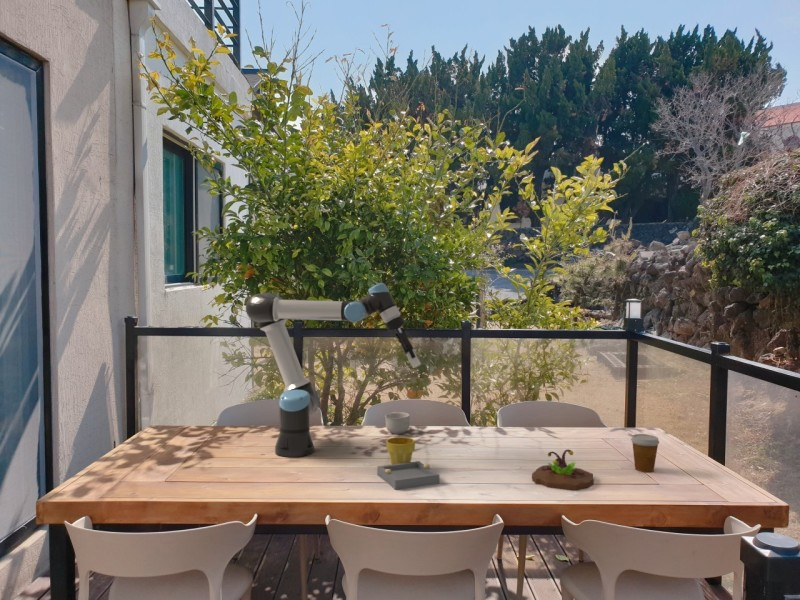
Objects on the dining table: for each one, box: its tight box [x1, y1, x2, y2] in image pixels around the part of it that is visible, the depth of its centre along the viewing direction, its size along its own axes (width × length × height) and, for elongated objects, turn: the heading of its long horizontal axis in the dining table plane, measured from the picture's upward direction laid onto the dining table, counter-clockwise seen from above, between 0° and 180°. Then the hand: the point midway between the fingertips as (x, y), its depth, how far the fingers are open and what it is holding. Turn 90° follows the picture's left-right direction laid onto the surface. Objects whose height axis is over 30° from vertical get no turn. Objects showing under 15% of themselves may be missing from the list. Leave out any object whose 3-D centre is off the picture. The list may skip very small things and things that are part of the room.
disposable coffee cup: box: [630, 433, 660, 473], centre depth 221 cm, size 10×10×12 cm
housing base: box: [376, 460, 440, 490], centre depth 209 cm, size 16×16×4 cm
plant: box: [531, 449, 594, 492], centre depth 209 cm, size 20×20×11 cm
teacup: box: [384, 411, 410, 435], centre depth 273 cm, size 14×11×8 cm
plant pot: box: [385, 436, 416, 465], centre depth 222 cm, size 10×10×10 cm
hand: (417, 366), depth 245 cm, fingers open, 13 cm apart
